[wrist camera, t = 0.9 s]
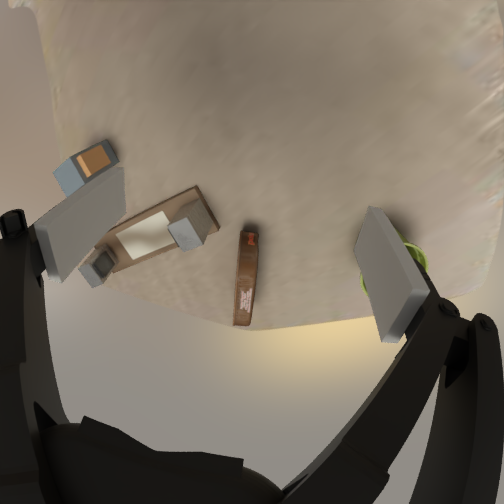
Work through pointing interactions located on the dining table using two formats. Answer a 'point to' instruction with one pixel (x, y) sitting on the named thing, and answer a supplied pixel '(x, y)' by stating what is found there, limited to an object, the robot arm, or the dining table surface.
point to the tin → (245, 278)
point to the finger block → (85, 167)
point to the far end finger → (98, 265)
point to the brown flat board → (149, 231)
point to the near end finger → (190, 225)
